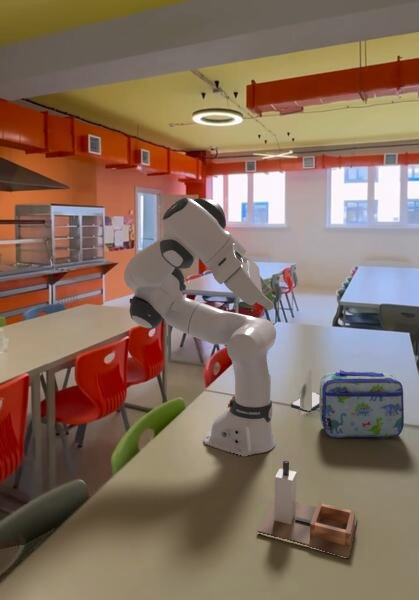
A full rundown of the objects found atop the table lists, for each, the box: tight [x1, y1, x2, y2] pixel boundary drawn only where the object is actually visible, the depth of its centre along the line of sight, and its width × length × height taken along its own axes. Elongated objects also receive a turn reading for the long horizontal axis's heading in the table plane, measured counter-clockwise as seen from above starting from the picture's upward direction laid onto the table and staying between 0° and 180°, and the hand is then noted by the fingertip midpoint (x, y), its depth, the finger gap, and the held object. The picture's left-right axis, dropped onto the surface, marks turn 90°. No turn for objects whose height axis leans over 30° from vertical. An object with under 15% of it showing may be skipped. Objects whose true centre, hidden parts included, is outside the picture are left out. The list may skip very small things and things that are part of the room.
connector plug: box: [274, 460, 297, 524], centre depth 109 cm, size 4×4×14 cm
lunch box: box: [318, 369, 405, 439], centre depth 153 cm, size 26×11×21 cm, turn 84°
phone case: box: [290, 391, 320, 411], centre depth 181 cm, size 9×2×16 cm
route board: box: [257, 496, 358, 559], centre depth 108 cm, size 20×14×4 cm
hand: (270, 299), depth 106 cm, fingers open, 8 cm apart
